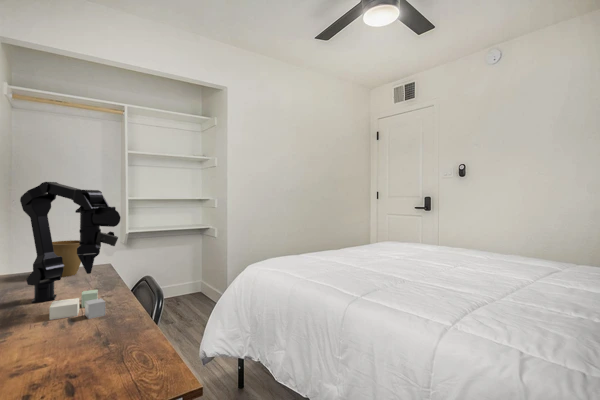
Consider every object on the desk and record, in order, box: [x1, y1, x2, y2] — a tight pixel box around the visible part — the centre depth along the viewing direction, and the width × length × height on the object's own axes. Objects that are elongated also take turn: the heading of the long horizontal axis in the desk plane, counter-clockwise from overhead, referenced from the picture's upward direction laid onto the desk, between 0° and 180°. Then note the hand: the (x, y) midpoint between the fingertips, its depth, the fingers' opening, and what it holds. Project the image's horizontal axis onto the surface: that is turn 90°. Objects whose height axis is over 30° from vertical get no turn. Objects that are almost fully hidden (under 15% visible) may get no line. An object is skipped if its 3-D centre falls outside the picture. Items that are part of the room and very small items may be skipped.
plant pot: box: [52, 239, 82, 278], centre depth 155 cm, size 15×15×16 cm
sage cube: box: [81, 289, 99, 309], centre depth 112 cm, size 4×4×4 cm
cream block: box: [49, 297, 80, 321], centre depth 103 cm, size 7×7×4 cm
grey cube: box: [84, 297, 106, 320], centre depth 102 cm, size 4×4×4 cm
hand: (89, 270), depth 112 cm, fingers open, 9 cm apart
